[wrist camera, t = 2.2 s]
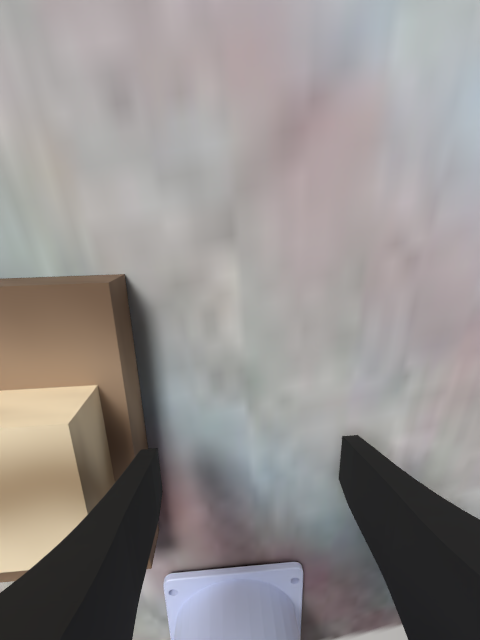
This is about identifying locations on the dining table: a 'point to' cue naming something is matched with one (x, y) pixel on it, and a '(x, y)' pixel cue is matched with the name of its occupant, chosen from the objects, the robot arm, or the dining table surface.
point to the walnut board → (75, 353)
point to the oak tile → (48, 468)
